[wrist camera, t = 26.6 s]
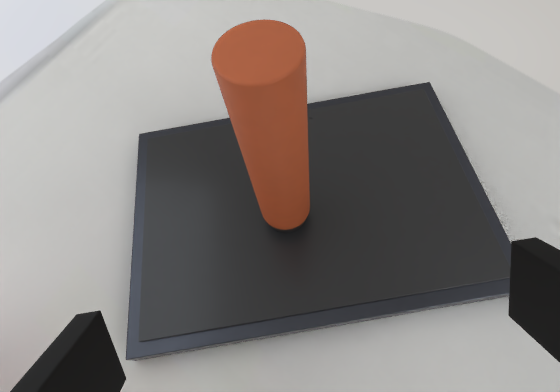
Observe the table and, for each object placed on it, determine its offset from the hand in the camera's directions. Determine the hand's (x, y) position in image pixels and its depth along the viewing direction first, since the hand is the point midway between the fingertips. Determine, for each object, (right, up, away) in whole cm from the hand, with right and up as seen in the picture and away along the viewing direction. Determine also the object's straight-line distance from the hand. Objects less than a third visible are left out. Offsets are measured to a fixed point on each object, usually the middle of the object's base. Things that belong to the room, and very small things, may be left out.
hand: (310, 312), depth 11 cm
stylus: (-1, +3, +8) cm, 9 cm away
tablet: (0, +3, +10) cm, 10 cm away
